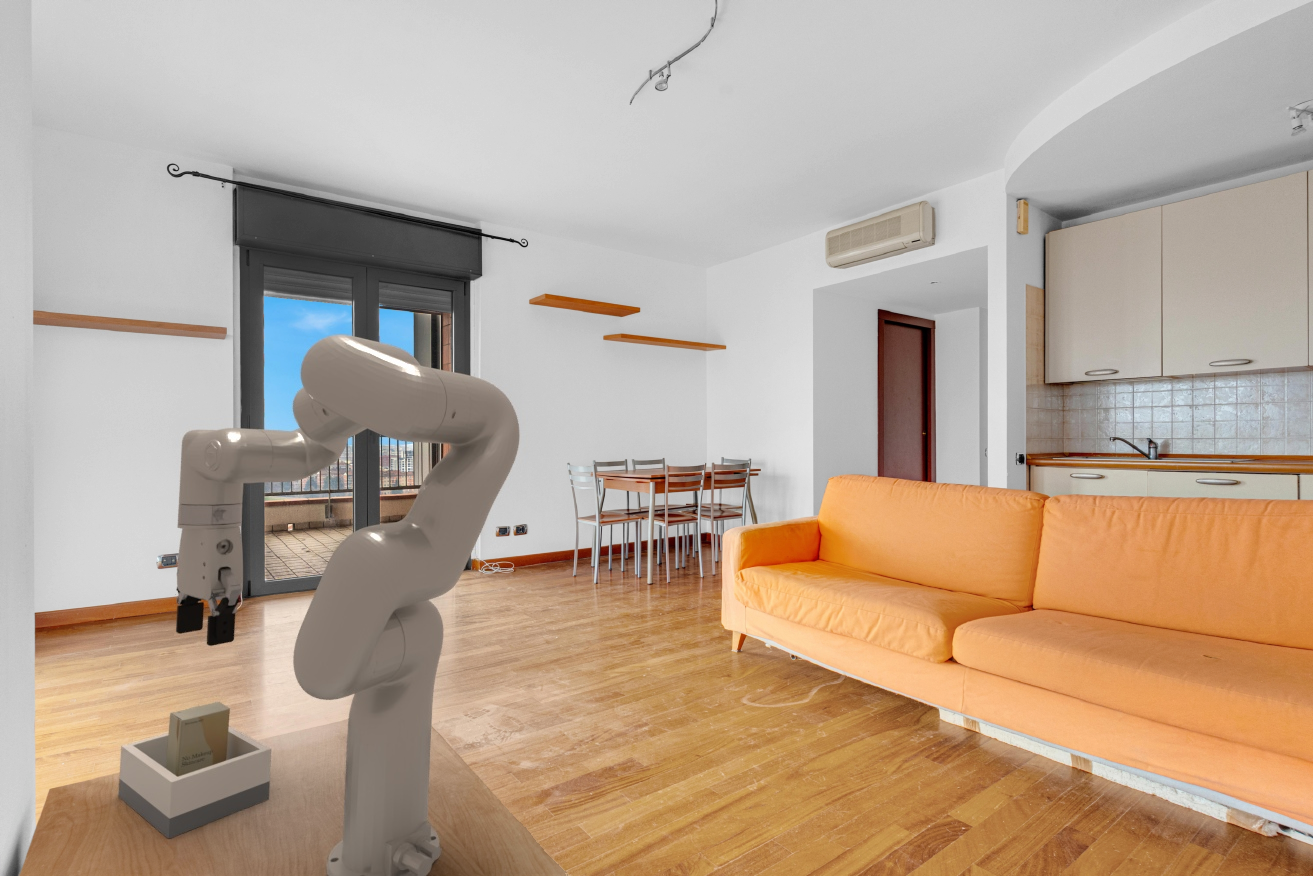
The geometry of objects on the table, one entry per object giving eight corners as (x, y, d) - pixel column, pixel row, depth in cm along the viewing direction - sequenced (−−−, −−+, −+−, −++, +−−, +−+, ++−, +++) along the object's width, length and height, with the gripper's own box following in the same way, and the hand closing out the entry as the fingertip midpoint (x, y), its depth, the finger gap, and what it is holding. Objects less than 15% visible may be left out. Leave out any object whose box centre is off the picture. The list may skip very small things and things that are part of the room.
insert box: (268, 799, 91) (271, 748, 92) (168, 839, 81) (171, 782, 82) (214, 764, 101) (216, 719, 101) (118, 796, 91) (121, 746, 91)
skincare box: (173, 813, 87) (178, 721, 88) (161, 802, 90) (166, 713, 90) (227, 794, 92) (231, 707, 93) (214, 784, 95) (218, 700, 95)
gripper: (268, 519, 91) (262, 642, 90) (212, 511, 101) (206, 622, 100) (208, 522, 85) (201, 655, 84) (154, 513, 94) (148, 632, 94)
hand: (204, 637), depth 92 cm, fingers open, 9 cm apart
